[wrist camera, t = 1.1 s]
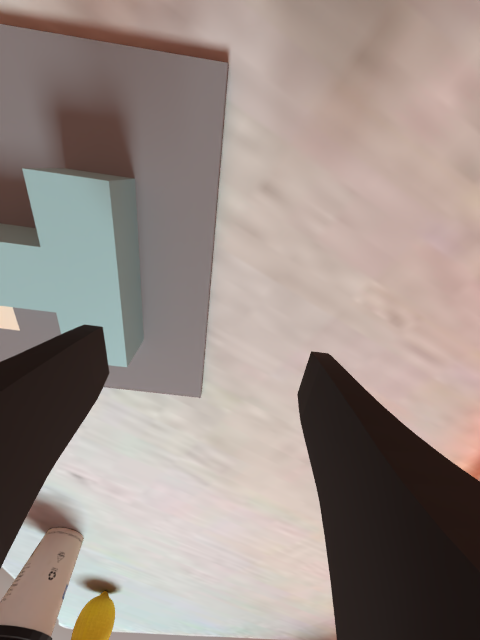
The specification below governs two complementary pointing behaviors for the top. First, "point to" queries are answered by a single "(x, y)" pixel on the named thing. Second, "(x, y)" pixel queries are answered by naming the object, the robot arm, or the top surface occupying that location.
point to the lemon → (95, 619)
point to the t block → (78, 256)
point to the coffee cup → (40, 588)
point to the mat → (125, 161)
